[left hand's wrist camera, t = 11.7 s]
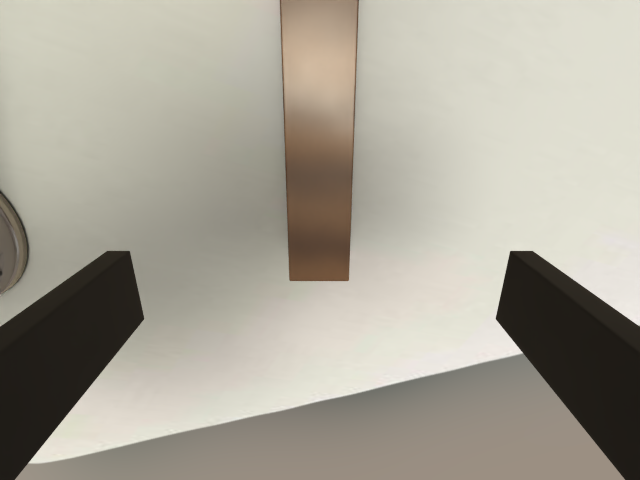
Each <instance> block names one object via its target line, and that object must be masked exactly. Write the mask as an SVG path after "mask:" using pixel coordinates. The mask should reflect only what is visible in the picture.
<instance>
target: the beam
mask: <svg viewBox="0 0 640 480" xmlns="http://www.w3.org/2000/svg"><path fill="white" fill-rule="evenodd" d="M358 5H359V0H280V15H281V45H282V74H283V103H284V133H285V162H286V191H287V221H288V250H289V280H290V281H349V261H350V233H351V204H352V176H353V147H354V119H355V90H356V62H357V34H358Z"/></svg>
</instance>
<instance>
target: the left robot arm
mask: <svg viewBox="0 0 640 480" xmlns="http://www.w3.org/2000/svg"><path fill="white" fill-rule="evenodd" d="M26 260H27V243H26V237H25V234H24V230H23V228H22V225H21V223H20V221H19V219H18V217H17V215H16V213H15V212H14V210H13V208H12V207H11V206H10V204H9V203H8V201H7V200H6V199H5V198H4V197H3V195H2V194H1V193H0V294H2V293H3V292H5V291H7V290H8V289H9V288H11V287H12V286H13V285H14V284H15V283H16V282H17V281H18V280H19V278H20V277H21V275H22V273H23V271H24V269H25V265H26ZM143 320H144V315H143V311H142V306H141V301H140V297H139V292H138V288H137V283H136V278H135V274H134V269H133V264H132V260H131V255H130V251H107V252H105V253H104V254H103V255H101V256H100V257H98V258H97V259H96V260H94V261H93V262H91V263H90V264H88V265H87V266H86V267H84V268H83V269H81V270H80V271H79V272H77V273H76V274H74V275H73V276H71V277H70V278H69V279H67V280H66V281H64V282H63V283H62V284H60V285H59V286H57V287H56V288H54V289H53V290H52V291H50V292H49V293H47V294H46V295H45V296H43V297H42V298H40V299H39V300H38V301H36V302H35V303H33V304H32V305H30V306H29V307H28V308H26V309H25V310H23V311H22V312H21V313H19V314H18V315H16V316H15V317H13V318H12V319H11V320H9V321H8V322H6V323H5V324H4V325H2V326H1V327H0V480H15V479H16V477H17V476H18V475H19V474H20V472H21V471H22V470H23V469H24V467H25V466H26V465H27V464H28V463H29V461H30V460H31V459H32V458H33V456H34V455H35V454H36V453H37V451H38V450H39V449H40V448H41V446H42V445H43V444H44V443H45V441H46V440H47V439H48V438H49V436H50V435H51V434H52V433H53V432H54V430H55V429H56V428H57V427H58V425H59V424H60V423H61V422H62V420H63V419H64V418H65V417H66V415H67V414H68V413H69V412H70V410H71V409H72V408H73V407H74V405H75V404H76V403H77V402H78V401H79V399H80V398H81V397H82V396H83V394H84V393H85V392H86V391H87V389H88V388H89V387H90V386H91V384H92V383H93V382H94V381H95V379H96V378H97V377H98V376H99V374H100V373H101V372H102V371H103V369H104V368H105V367H106V366H107V365H108V363H109V362H110V361H111V360H112V358H113V357H114V356H115V355H116V353H117V352H118V351H119V350H120V348H121V347H122V346H123V345H124V343H125V342H126V341H127V340H128V338H129V337H130V336H131V335H132V333H133V332H134V331H135V330H136V329H137V327H138V326H139V325H140V324H141V322H142V321H143ZM496 320H497V321H498V322H499V324H500V325H501V326H502V327H503V329H504V330H505V331H506V332H507V333H508V335H509V336H510V337H511V338H512V340H513V341H514V342H515V343H516V345H517V346H518V347H519V348H520V350H521V351H522V352H523V353H524V355H525V356H526V357H527V358H528V360H529V361H530V362H531V363H532V364H533V366H534V367H535V368H536V369H537V371H538V372H539V373H540V374H541V376H542V377H543V378H544V379H545V381H546V382H547V383H548V384H549V385H550V387H551V388H552V389H553V391H554V392H555V393H556V394H557V396H558V397H559V398H560V399H561V400H562V402H563V403H564V404H565V405H566V407H567V408H568V409H569V410H570V412H571V413H572V414H573V415H574V417H575V418H576V419H577V420H578V422H579V423H580V424H581V425H582V427H583V428H584V429H585V430H586V432H587V433H588V434H589V435H590V436H591V438H592V439H593V440H594V441H595V443H596V444H597V445H598V446H599V448H600V449H601V450H602V451H603V453H604V454H605V455H606V456H607V458H608V459H609V460H610V461H611V462H612V464H613V465H614V466H615V467H616V469H617V470H618V471H619V472H620V474H621V475H622V476H623V477H624V479H625V480H640V326H638V325H636V324H635V323H634V322H632V321H631V320H629V319H628V318H627V317H625V316H624V315H622V314H621V313H619V312H618V311H617V310H615V309H614V308H612V307H611V306H610V305H608V304H607V303H605V302H604V301H602V300H601V299H600V298H598V297H597V296H595V295H594V294H593V293H591V292H590V291H588V290H587V289H586V288H584V287H583V286H581V285H580V284H578V283H577V282H576V281H574V280H573V279H571V278H570V277H569V276H567V275H566V274H564V273H563V272H561V271H560V270H559V269H557V268H556V267H554V266H553V265H552V264H550V263H549V262H547V261H546V260H544V259H543V258H542V257H540V256H539V255H537V254H536V253H535V252H533V251H510V255H509V260H508V264H507V269H506V274H505V278H504V283H503V288H502V292H501V297H500V301H499V306H498V311H497V315H496Z"/></svg>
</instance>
